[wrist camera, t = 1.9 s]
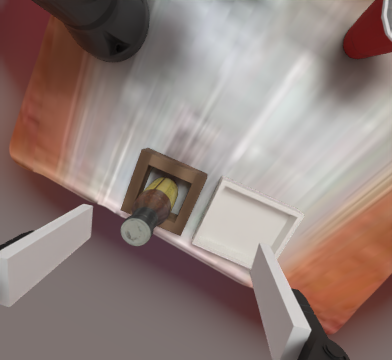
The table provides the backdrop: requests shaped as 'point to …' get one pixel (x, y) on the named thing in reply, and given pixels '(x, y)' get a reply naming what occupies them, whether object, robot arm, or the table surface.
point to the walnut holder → (174, 168)
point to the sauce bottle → (149, 211)
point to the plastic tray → (244, 223)
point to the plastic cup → (371, 32)
